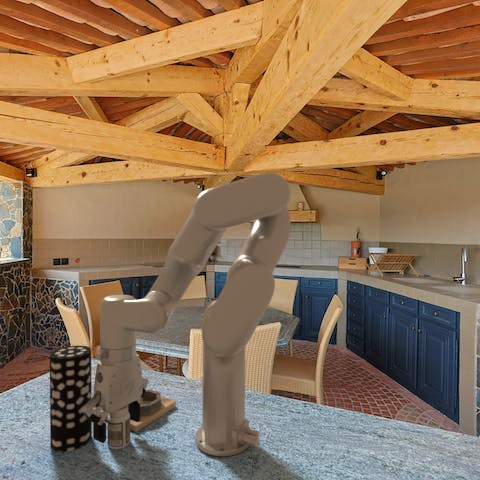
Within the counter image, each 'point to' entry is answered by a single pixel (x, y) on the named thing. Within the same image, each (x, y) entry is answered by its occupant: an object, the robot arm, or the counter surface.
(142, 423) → the socket board
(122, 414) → the pill bottle
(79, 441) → the spotted tube
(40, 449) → the counter surface
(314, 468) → the counter surface
